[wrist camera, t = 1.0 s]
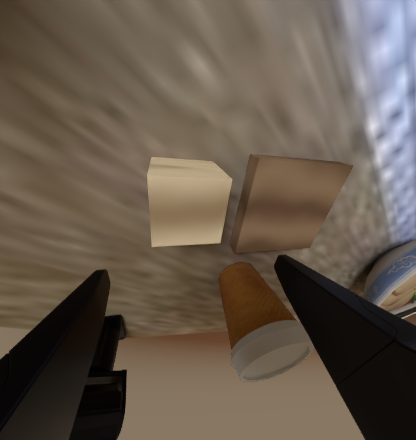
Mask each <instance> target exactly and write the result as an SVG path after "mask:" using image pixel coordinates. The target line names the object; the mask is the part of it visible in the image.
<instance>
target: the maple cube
mask: <svg viewBox="0 0 416 440" xmlns="http://www.w3.org/2000/svg"><path fill="white" fill-rule="evenodd" d="M147 181H148V196H149V211H150V226H151V241H152V247H158V246H176V245H195V244H213V243H220V242H221V237H222V232H223V226H224V221H225V216H226V210H227V205H228V200H229V194H230V189H231V184H232V179H231V178H230V177H229V176H228V175H227V174H226V173H225V172H224V171H223V170H222V169H220V168H219V167H218V166H217V165H216V164H215V163H214V162H213V161H200V160H186V159H172V158H158V157H152V158H151V162H150V166H149V170H148V174H147Z"/></svg>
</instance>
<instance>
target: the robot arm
mask: <svg viewBox="0 0 416 440" xmlns="http://www.w3.org/2000/svg"><path fill="white" fill-rule="evenodd" d="M274 269H275V271H276V274H277V276H278V278H279V281H280V283H281V285H282V288H283V290H284V292H285V294H286V296H287V298H288V300H289V302H290V303H291V305H292V307H293V309H294V311H295V312H296V314H297V316H298V318H299V320H300V322H301V323H302V325H303V327H304V329H305V331H306V333H307V334H308V336H309V338H310V340H311V342H312V343H313V345H314V347H315V349H316V351H317V352H318V354H319V356H320V358H321V360H322V361H323V363H324V365H325V367H326V369H327V371H328V372H329V374H330V376H331V378H332V380H333V382H334V383H335V385H336V387H337V389H338V391H339V393H340V395H341V396H342V398H343V400H344V402H345V404H346V406H347V407H348V409H349V411H350V413H351V415H352V416H353V418H354V420H355V422H356V423H357V425H358V427H359V429H360V431H361V433H362V435H363V437H364V438H365V440H416V325H414V324H412V323H410V322H408V321H406V320H404V319H402V318H400V317H398V316H396V315H394V314H392V313H390V312H388V311H386V310H384V309H382V308H381V307H379V306H377V305H375V304H373V303H371V302H369V301H368V300H366V299H364V298H362V297H360V296H359V295H357V294H354V293H353V292H351V291H350V290H348V289H346V288H344V287H343V286H341V285H339V284H337V283H335V282H334V281H332V280H330V279H328V278H327V277H325V276H323V275H321V274H319V273H318V272H316V271H314V270H312V269H310V268H309V267H307V266H305V265H303V264H302V263H300V262H298V261H296V260H294V259H293V258H291V257H289V256H287V255H279V256H278V257H277V260H276V262H275V264H274ZM109 290H110V279H109V275H108V272H107V270H105V269H104V270H96V271H95V272H94V273H92V274H91V275H90V276H89V277H88V278H87V279H86V280H85V281H84V282H83V283H82V284H81V285H80V286H79V287H77V288H76V289H75V290H74V291H73V292H72V293H71V294H70V295H69V296H68V297H67V298H66V299H65V300H64V301H62V302H61V303H60V304H59V305H58V306H57V307H56V308H55V309H54V310H53V311H52V312H51V313H50V314H49V315H47V316H46V317H45V318H44V319H43V320H42V321H41V322H40V323H39V324H38V325H37V326H36V327H35V328H34V329H33V330H31V331H30V332H29V333H28V334H27V335H26V336H25V337H24V338H23V339H22V340H21V341H20V342H19V343H18V344H17V345H15V346H14V347H13V348H12V349H11V350H10V351H9V353H8V354H6V355H5V356H4V357H3V358H1V359H0V440H117V438H118V436H119V434H120V431H121V428H122V424H123V419H124V414H125V404H126V374H127V370H122V371H113V367H114V362H115V357H116V351H117V347H118V341H119V340H122V339H124V338H125V336H126V334H125V330H124V326H123V322H122V318H121V316H120V315H116V316H109V317H105V312H106V307H107V301H108V295H109Z"/></svg>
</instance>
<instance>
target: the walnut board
mask: <svg viewBox="0 0 416 440" xmlns="http://www.w3.org/2000/svg"><path fill="white" fill-rule="evenodd" d="M352 167H353V166H352V165H348V164H344V163H340V162H333V161H322V160H310V159H299V158H287V157H275V156H264V155H252V154H250V158H249V162H248V167H247V171H246V176H245V180H244V184H243V189H242V193H241V198H240V202H239V207H238V211H237V215H236V220H235V224H234V229H233V233H232V238H231V242H230V244H231V246H232V248H233V250H234V252H235V253H244V252H258V251H272V250H286V249H299V248H310V246H311V245H312V243H313V241H314V239H315V237H316V235H317V233H318V231H319V229H320V228H321V226H322V224H323V222H324V220H325V218H326V216H327V214H328V213H329V211H330V209H331V207H332V205H333V203H334V201H335V199H336V198H337V196H338V194H339V192H340V190H341V188H342V186H343V184H344V182H345V181H346V179H347V177H348V175H349V173H350V171H351V169H352Z"/></svg>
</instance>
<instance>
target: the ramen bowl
mask: <svg viewBox="0 0 416 440" xmlns="http://www.w3.org/2000/svg"><path fill="white" fill-rule="evenodd" d="M364 296H365V299H366V300H368V301H369V302H371V303H373V304H375V305H377V306H379V307H381V308H382V309H384V310H386V311H388V312H390V313H392V314H394V315H396V316H398V317H400V318H402V319H404V318H406V317H408V316H410V315H413V314H415V313H416V240H414V241H412V242H409V243H407V244H405V245H403V246H400V247H396V248H393V249H391V250H389V251H387V252H386V253H384V254H383V255H382V256H381V257H379V258H378V259H377V260H376V262H375V263H374V265H373V267H372V270H371V272H370V273H369V275H368V276H367V279H366V283H365V287H364Z"/></svg>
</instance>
